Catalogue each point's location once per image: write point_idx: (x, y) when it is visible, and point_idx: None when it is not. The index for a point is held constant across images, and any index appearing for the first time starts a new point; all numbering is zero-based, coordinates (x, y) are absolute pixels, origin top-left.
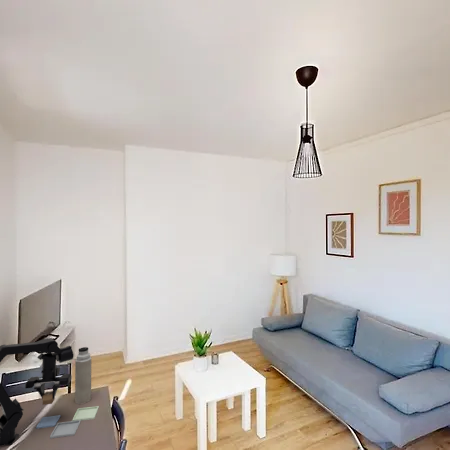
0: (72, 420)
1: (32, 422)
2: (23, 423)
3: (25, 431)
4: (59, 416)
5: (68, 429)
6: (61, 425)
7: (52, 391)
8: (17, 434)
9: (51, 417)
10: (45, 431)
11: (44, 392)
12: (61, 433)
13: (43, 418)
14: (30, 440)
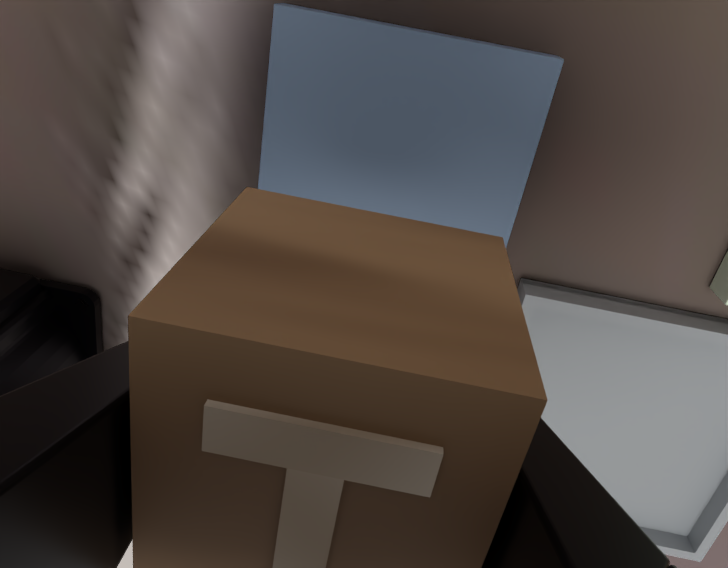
0: (726, 301)
1: (150, 37)
2: (24, 10)
3: (144, 240)
4: (546, 103)
5: (646, 433)
6: (569, 322)
7: (436, 404)
8: (79, 295)
9: (420, 78)
10: None
11: (94, 443)
12: None
13: (295, 54)
14: None
